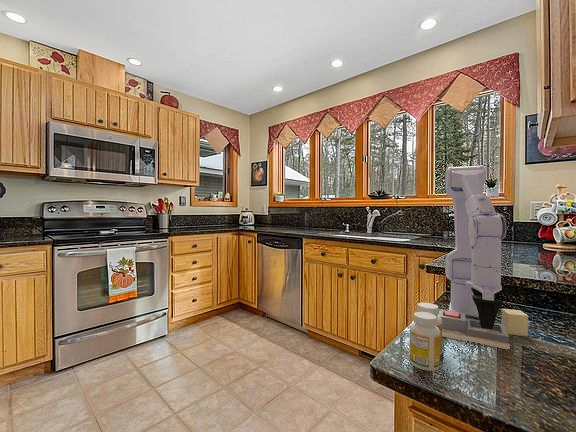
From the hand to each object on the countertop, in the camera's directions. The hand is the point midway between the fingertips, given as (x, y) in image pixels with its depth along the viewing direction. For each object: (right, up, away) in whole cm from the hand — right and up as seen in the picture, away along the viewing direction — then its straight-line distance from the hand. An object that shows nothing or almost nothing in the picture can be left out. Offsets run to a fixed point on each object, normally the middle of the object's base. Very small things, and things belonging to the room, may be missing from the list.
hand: (485, 322), depth 67 cm
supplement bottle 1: (-17, -4, -7) cm, 19 cm away
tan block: (+9, -4, +3) cm, 11 cm away
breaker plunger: (-6, -2, +4) cm, 7 cm away
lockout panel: (-3, -3, +2) cm, 5 cm away
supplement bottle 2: (-20, -4, -12) cm, 24 cm away
